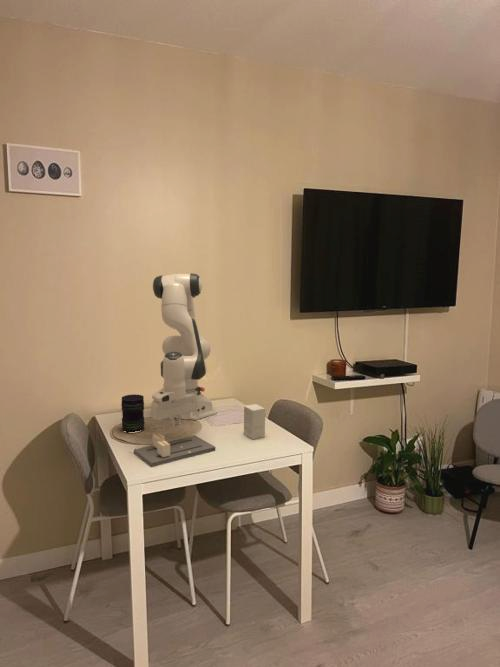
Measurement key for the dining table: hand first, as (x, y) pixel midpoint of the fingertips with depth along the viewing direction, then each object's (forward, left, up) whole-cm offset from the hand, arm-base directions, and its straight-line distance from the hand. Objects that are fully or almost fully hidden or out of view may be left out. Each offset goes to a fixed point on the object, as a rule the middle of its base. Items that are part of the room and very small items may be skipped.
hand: (175, 425), depth 203 cm
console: (+3, +4, -9) cm, 10 cm away
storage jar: (+6, -29, -9) cm, 31 cm away
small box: (-34, +8, -9) cm, 36 cm away
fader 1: (+8, 0, -7) cm, 11 cm away
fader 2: (+10, +8, -7) cm, 15 cm away
